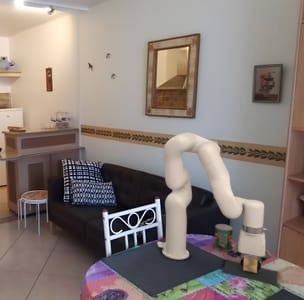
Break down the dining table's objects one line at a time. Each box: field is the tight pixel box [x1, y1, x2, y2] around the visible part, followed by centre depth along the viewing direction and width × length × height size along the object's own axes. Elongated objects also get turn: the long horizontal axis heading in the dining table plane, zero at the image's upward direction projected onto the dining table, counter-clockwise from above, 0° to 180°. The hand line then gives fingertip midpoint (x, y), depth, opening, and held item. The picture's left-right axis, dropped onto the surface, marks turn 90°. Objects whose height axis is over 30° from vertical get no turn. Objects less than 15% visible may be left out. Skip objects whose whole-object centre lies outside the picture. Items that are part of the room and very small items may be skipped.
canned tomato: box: [214, 223, 234, 252], centre depth 162 cm, size 8×8×11 cm
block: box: [243, 254, 258, 273], centre depth 139 cm, size 5×5×5 cm
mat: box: [222, 260, 278, 286], centre depth 139 cm, size 20×12×1 cm, turn 57°
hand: (250, 268), depth 139 cm, fingers closed on block, 5 cm apart
